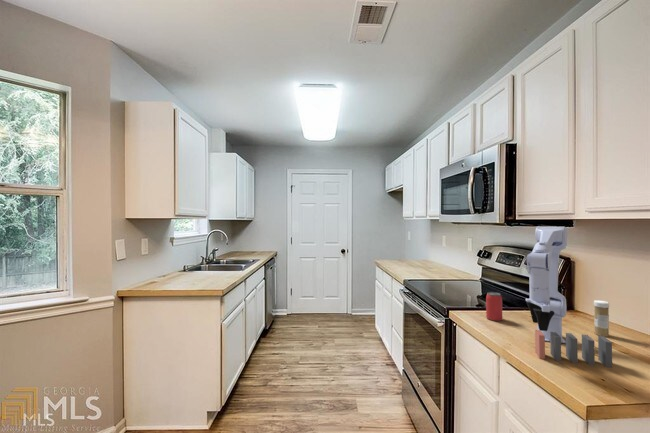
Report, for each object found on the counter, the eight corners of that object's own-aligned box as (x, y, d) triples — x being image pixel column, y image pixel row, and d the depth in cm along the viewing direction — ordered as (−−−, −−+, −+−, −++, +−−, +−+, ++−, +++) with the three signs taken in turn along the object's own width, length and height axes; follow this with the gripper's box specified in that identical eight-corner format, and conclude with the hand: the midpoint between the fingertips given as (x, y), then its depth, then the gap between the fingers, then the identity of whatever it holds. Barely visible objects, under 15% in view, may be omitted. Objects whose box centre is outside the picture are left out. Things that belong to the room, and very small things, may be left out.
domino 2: (571, 362, 102) (571, 338, 102) (566, 355, 107) (565, 332, 107) (577, 363, 102) (577, 339, 102) (571, 356, 106) (571, 333, 106)
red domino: (540, 352, 110) (540, 330, 109) (545, 359, 105) (544, 335, 105) (535, 352, 110) (535, 329, 110) (539, 358, 105) (539, 335, 105)
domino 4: (605, 366, 99) (605, 341, 99) (598, 359, 104) (598, 336, 104) (612, 367, 99) (611, 342, 98) (604, 360, 103) (604, 336, 103)
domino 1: (555, 360, 104) (555, 336, 104) (550, 354, 109) (550, 331, 108) (561, 361, 103) (560, 337, 103) (555, 354, 108) (555, 331, 108)
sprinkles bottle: (594, 331, 127) (594, 299, 127) (609, 334, 124) (609, 301, 124) (593, 335, 124) (593, 301, 124) (609, 338, 121) (609, 303, 120)
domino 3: (588, 364, 101) (588, 340, 101) (582, 357, 105) (581, 334, 105) (594, 365, 100) (594, 340, 100) (587, 358, 105) (587, 334, 105)
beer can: (499, 322, 140) (498, 296, 140) (484, 319, 145) (483, 293, 145) (504, 319, 144) (504, 293, 144) (489, 315, 149) (489, 290, 149)
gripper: (520, 282, 115) (521, 318, 116) (531, 291, 102) (532, 332, 102) (543, 283, 113) (543, 320, 113) (557, 293, 99) (557, 335, 100)
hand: (539, 326), depth 107 cm, fingers open, 7 cm apart
